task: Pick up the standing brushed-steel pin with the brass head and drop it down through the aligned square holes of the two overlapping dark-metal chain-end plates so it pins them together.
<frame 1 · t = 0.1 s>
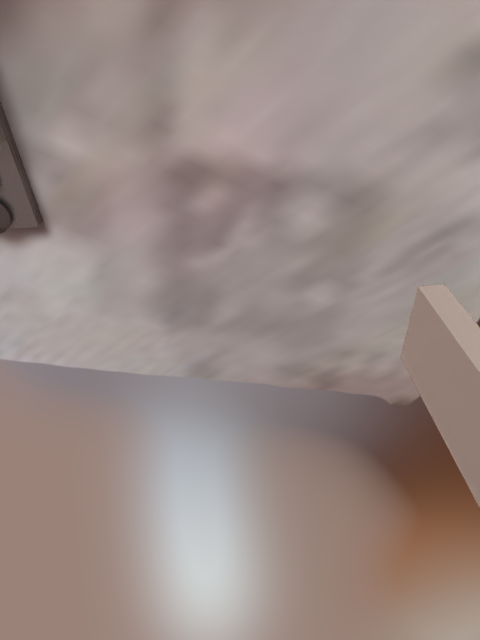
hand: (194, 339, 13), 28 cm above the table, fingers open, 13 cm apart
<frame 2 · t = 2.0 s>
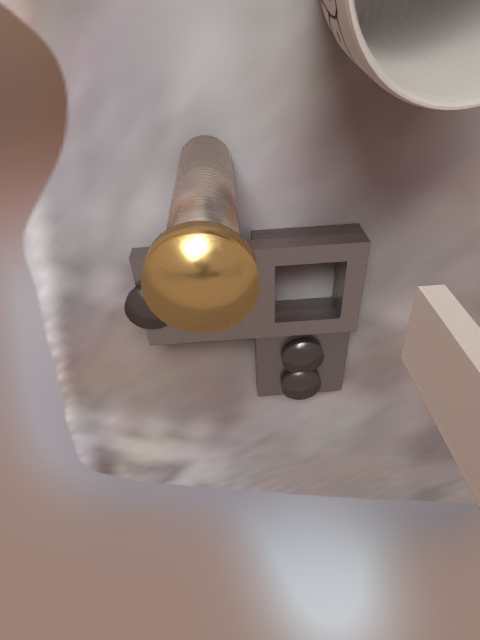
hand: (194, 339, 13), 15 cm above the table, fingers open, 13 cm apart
pin: (205, 162, 25), on the table
chain end a: (302, 273, 30), on the table
chain end b: (306, 283, 29), resting on chain end a
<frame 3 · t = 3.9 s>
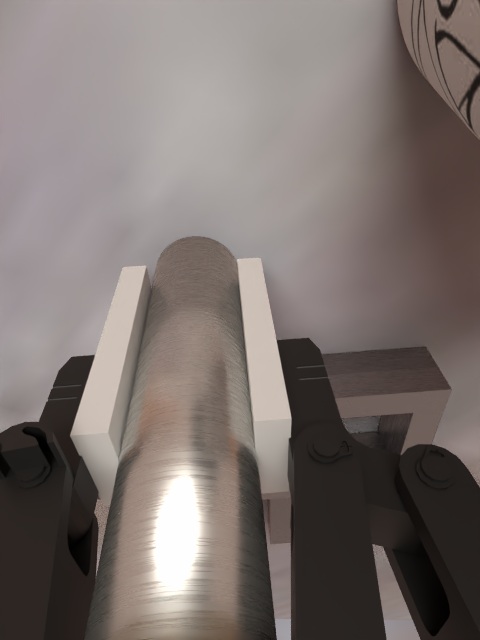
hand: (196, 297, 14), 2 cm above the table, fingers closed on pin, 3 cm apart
pin: (197, 273, 16), on the table, touching gripper
chain end a: (338, 406, 21), on the table
chain end b: (345, 427, 20), resting on chain end a
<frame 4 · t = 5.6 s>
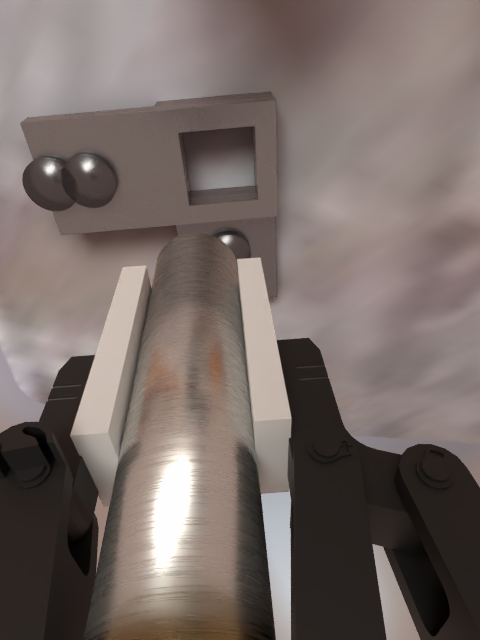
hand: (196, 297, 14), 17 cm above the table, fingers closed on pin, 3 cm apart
pin: (197, 269, 16), point 15 cm above the table, touching gripper
chain end a: (219, 155, 28), on the table
chain end b: (219, 161, 27), resting on chain end a
when the fingers open (4 cm above the table, at t = 7.7 s): pin stays where it is, resting in chain end a.
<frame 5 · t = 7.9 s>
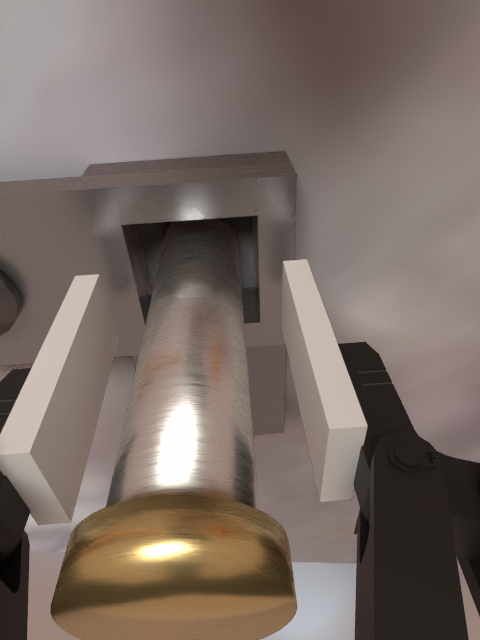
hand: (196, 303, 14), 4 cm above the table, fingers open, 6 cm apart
pin: (201, 245, 17), resting in chain end a
chain end a: (198, 245, 17), on the table
chain end b: (197, 260, 16), resting on chain end a
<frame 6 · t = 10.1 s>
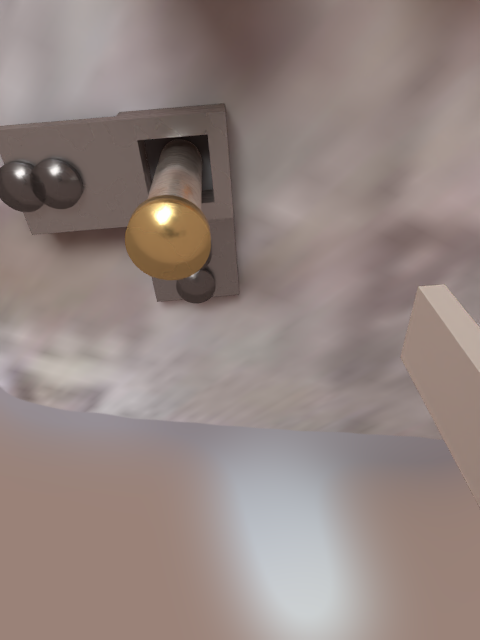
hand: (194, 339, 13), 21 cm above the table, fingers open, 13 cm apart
pin: (181, 161, 30), resting in chain end a
chain end a: (179, 161, 30), on the table
chain end b: (178, 166, 29), resting on chain end a
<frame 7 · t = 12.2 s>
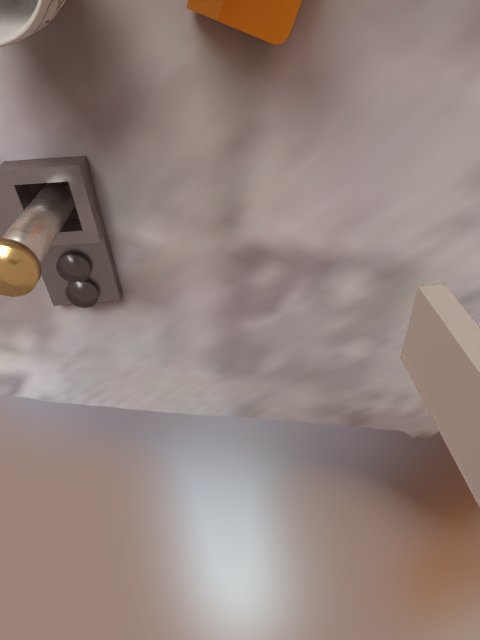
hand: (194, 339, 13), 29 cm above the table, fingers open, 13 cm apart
pin: (59, 197, 39), resting in chain end a
chain end a: (57, 197, 39), on the table
chain end b: (53, 203, 38), resting on chain end a
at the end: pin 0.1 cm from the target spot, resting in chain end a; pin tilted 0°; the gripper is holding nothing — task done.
